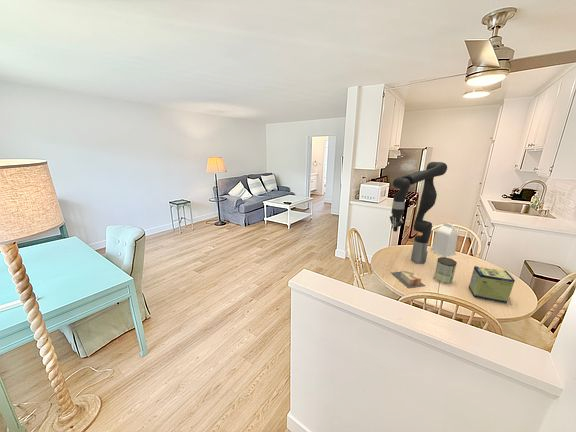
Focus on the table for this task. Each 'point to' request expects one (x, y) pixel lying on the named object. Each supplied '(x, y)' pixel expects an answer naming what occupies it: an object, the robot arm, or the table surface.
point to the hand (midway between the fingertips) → (395, 231)
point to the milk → (445, 240)
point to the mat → (398, 275)
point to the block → (410, 278)
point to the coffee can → (445, 270)
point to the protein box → (491, 284)
